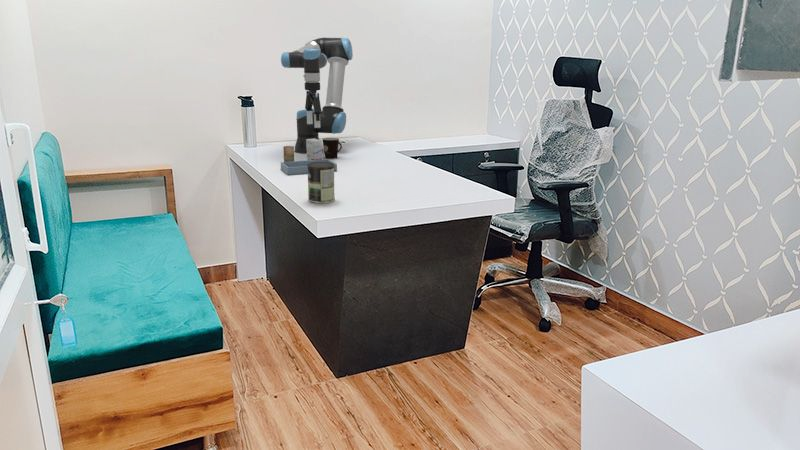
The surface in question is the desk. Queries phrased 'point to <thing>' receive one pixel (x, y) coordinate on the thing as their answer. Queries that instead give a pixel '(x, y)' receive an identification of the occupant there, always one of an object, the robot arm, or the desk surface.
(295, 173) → the tray
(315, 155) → the ink box
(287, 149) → the walnut dowel
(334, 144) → the coffee mug
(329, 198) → the coffee can
